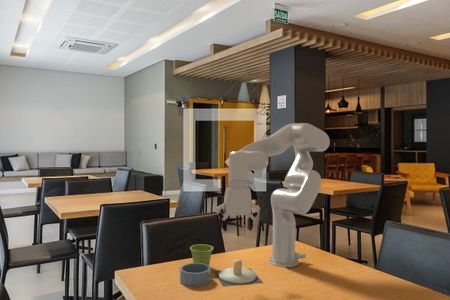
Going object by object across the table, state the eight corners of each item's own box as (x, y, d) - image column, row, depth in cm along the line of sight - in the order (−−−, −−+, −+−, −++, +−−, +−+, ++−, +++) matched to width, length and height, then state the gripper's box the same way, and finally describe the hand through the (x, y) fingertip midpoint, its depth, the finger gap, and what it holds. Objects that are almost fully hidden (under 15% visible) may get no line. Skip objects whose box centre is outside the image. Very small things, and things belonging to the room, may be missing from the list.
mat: (250, 269, 143) (250, 268, 143) (263, 284, 129) (263, 282, 129) (213, 272, 140) (213, 271, 140) (222, 287, 125) (222, 286, 125)
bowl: (207, 275, 137) (207, 262, 137) (213, 286, 126) (213, 272, 126) (178, 277, 134) (178, 264, 134) (182, 288, 124) (182, 274, 124)
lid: (249, 268, 143) (249, 254, 143) (261, 282, 129) (261, 265, 129) (215, 271, 139) (215, 256, 139) (223, 285, 126) (224, 268, 126)
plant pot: (214, 265, 148) (214, 244, 148) (211, 273, 138) (211, 251, 138) (192, 264, 149) (192, 243, 148) (187, 272, 139) (187, 250, 139)
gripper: (257, 183, 139) (255, 227, 139) (213, 183, 135) (212, 228, 135) (263, 185, 132) (262, 231, 132) (218, 185, 128) (216, 233, 128)
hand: (237, 230), depth 134 cm, fingers open, 9 cm apart
